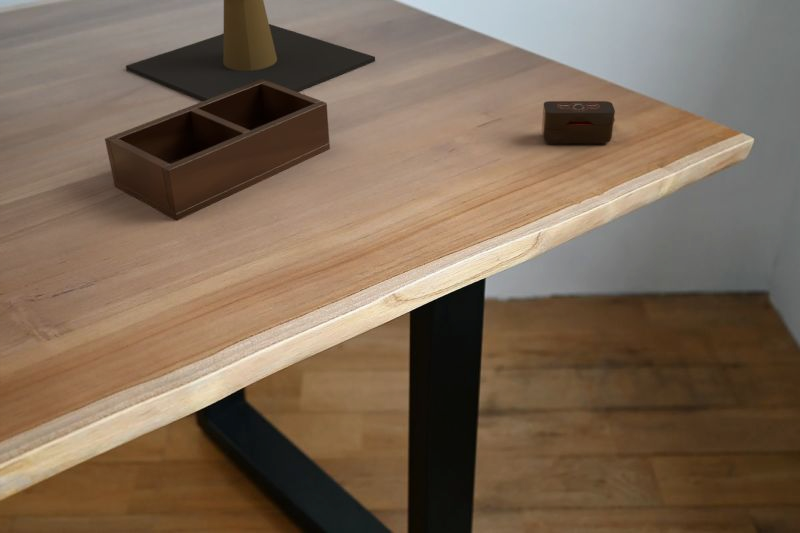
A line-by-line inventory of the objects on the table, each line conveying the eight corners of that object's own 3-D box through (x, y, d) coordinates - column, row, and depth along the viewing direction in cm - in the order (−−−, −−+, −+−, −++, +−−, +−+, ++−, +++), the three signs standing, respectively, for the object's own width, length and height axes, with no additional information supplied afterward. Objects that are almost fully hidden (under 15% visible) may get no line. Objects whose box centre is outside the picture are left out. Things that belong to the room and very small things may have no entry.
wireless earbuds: (620, 145, 84) (625, 113, 82) (543, 145, 84) (545, 113, 83) (613, 124, 88) (616, 93, 86) (539, 124, 88) (541, 93, 87)
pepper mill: (232, 51, 106) (220, -46, 100) (282, 52, 105) (273, -45, 99) (216, 70, 101) (202, -31, 95) (269, 71, 100) (258, -30, 94)
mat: (126, 69, 103) (125, 65, 103) (261, 25, 115) (260, 21, 115) (238, 115, 92) (238, 111, 91) (375, 60, 104) (375, 56, 104)
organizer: (114, 186, 79) (104, 138, 77) (266, 122, 90) (261, 78, 88) (177, 220, 74) (167, 170, 72) (330, 148, 85) (327, 102, 82)
